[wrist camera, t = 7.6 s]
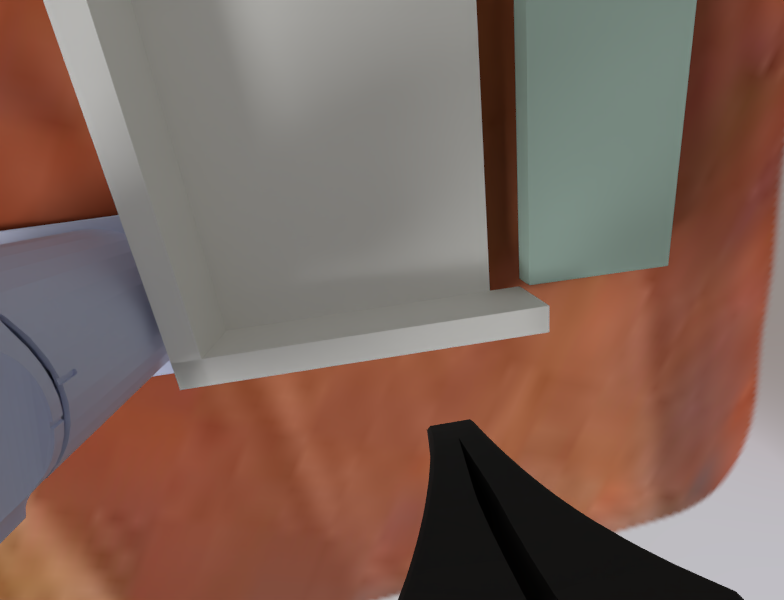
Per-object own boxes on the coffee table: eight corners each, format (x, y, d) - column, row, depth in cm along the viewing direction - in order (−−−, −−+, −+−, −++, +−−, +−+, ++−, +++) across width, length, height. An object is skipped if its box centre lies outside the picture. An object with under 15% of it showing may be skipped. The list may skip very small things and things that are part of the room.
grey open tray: (218, 343, 20) (180, 389, 15) (64, -169, 13) (-75, -335, 9) (508, 300, 20) (549, 332, 16) (493, -207, 14) (553, -377, 10)
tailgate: (529, 285, 17) (667, 265, 17) (523, -221, 12) (723, -243, 12) (519, 278, 18) (649, 260, 18) (510, -186, 13) (692, -207, 13)
